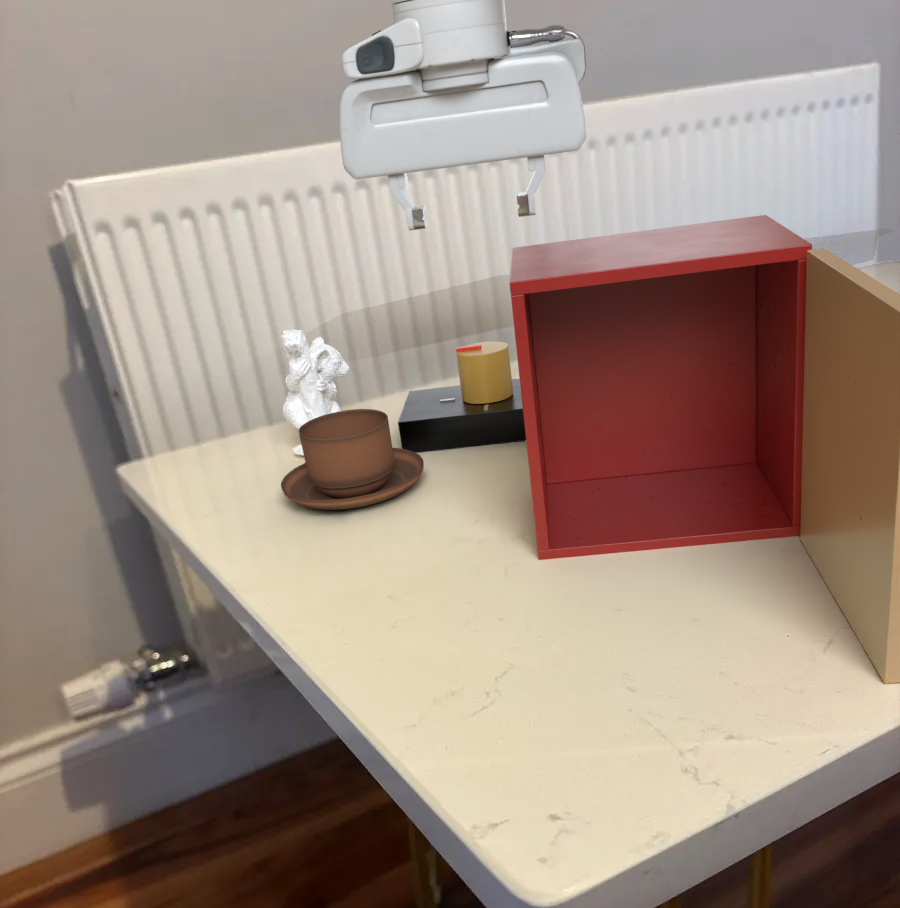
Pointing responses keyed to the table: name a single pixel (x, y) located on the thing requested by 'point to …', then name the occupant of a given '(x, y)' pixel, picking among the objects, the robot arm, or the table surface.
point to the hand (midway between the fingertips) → (472, 222)
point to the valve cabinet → (663, 385)
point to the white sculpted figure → (310, 379)
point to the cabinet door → (854, 449)
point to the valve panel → (459, 420)
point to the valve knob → (484, 372)
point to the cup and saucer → (350, 462)
